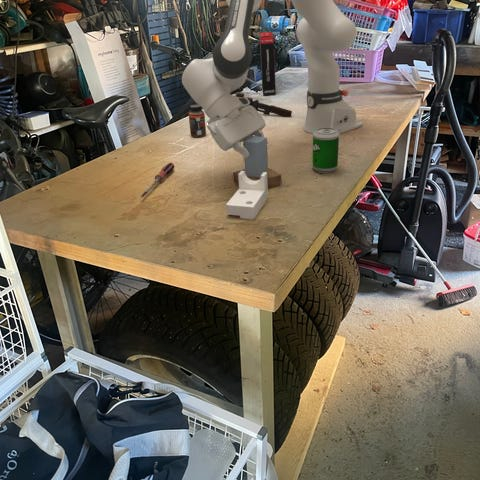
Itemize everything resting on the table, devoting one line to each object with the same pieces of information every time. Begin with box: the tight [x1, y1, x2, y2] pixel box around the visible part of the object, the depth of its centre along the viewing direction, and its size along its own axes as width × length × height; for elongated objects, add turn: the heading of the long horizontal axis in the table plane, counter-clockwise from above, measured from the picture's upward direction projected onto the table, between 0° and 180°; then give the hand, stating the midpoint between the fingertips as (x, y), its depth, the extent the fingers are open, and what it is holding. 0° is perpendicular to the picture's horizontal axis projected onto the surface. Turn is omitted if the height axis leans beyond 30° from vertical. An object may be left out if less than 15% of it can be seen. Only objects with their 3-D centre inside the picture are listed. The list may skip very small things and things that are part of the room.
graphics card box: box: [258, 31, 277, 97], centre depth 233 cm, size 17×7×27 cm, turn 179°
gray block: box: [242, 135, 269, 178], centre depth 133 cm, size 5×5×10 cm
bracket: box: [225, 171, 269, 220], centre depth 122 cm, size 13×7×8 cm, turn 162°
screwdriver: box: [140, 162, 175, 198], centre depth 140 cm, size 25×3×3 cm, turn 167°
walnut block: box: [232, 167, 282, 189], centre depth 136 cm, size 10×10×3 cm
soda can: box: [311, 128, 340, 174], centre depth 140 cm, size 8×8×12 cm
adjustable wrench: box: [235, 92, 293, 118], centre depth 201 cm, size 8×3×25 cm
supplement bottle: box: [188, 104, 207, 138], centre depth 179 cm, size 6×6×11 cm
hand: (257, 150), depth 132 cm, fingers open, 8 cm apart
